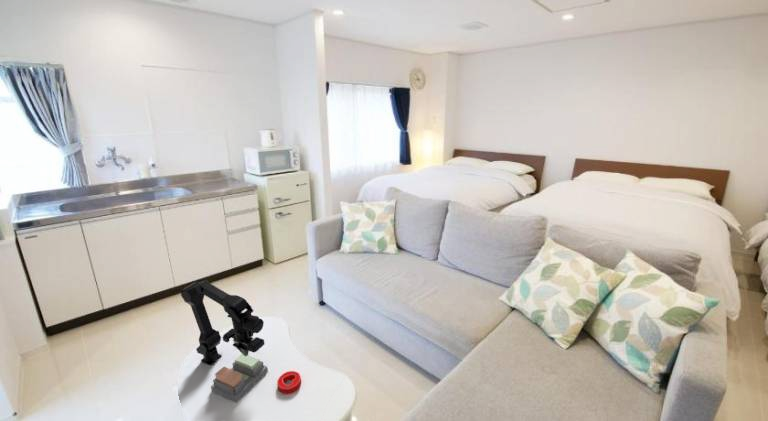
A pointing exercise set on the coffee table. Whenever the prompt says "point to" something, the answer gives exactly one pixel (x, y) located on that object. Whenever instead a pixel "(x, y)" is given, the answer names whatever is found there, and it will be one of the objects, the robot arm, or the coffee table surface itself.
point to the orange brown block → (228, 377)
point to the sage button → (247, 361)
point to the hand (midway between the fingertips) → (246, 355)
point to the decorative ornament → (286, 377)
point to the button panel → (244, 386)
